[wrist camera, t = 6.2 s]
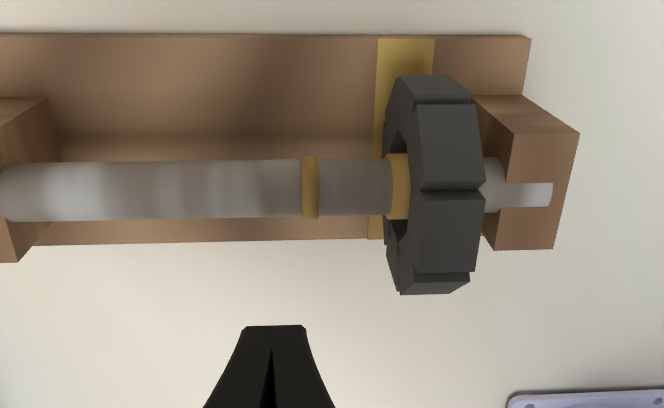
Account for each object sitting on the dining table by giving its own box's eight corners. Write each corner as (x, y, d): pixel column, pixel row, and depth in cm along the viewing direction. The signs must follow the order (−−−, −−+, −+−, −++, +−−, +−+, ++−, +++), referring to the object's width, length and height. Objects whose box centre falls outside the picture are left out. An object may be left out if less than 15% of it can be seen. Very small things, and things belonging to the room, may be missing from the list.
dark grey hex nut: (432, 60, 18) (500, 117, 12) (416, 226, 21) (464, 334, 15) (387, 60, 18) (433, 117, 12) (377, 226, 21) (410, 336, 15)
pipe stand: (522, 35, 19) (601, 66, 14) (490, 226, 23) (544, 303, 18) (-17, 33, 18) (-131, 66, 13) (38, 235, 22) (-36, 321, 17)
